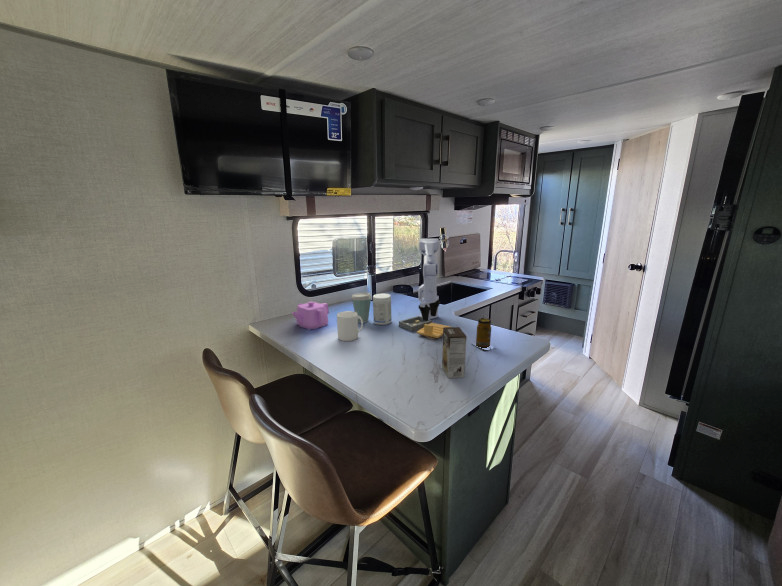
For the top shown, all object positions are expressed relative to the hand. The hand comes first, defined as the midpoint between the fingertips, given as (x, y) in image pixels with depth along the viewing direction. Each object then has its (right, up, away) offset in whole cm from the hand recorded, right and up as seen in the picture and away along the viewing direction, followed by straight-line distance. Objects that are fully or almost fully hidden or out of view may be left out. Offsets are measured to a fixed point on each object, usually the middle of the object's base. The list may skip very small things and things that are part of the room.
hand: (429, 318), depth 153 cm
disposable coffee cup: (-33, -3, +25) cm, 42 cm away
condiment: (+23, -12, -9) cm, 27 cm away
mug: (-37, -9, +3) cm, 38 cm away
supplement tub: (-22, -4, +22) cm, 32 cm away
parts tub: (-5, -5, +17) cm, 18 cm away
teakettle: (-60, -5, +20) cm, 63 cm away
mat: (+4, -8, +7) cm, 11 cm away
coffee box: (+5, -18, -31) cm, 36 cm away
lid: (+3, -7, +7) cm, 10 cm away
